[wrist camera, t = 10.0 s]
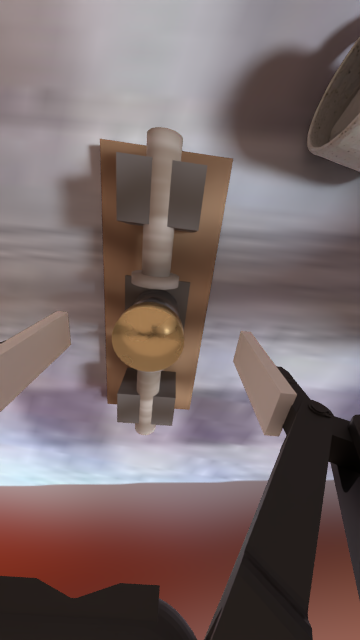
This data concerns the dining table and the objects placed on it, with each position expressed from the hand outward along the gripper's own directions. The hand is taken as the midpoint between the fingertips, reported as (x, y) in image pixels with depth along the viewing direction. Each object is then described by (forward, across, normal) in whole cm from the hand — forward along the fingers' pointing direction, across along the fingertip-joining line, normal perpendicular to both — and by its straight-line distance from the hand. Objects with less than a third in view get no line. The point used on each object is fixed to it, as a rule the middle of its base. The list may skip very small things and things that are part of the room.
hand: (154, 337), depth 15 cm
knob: (+7, -1, 0) cm, 7 cm away
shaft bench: (+8, -1, 0) cm, 8 cm away
